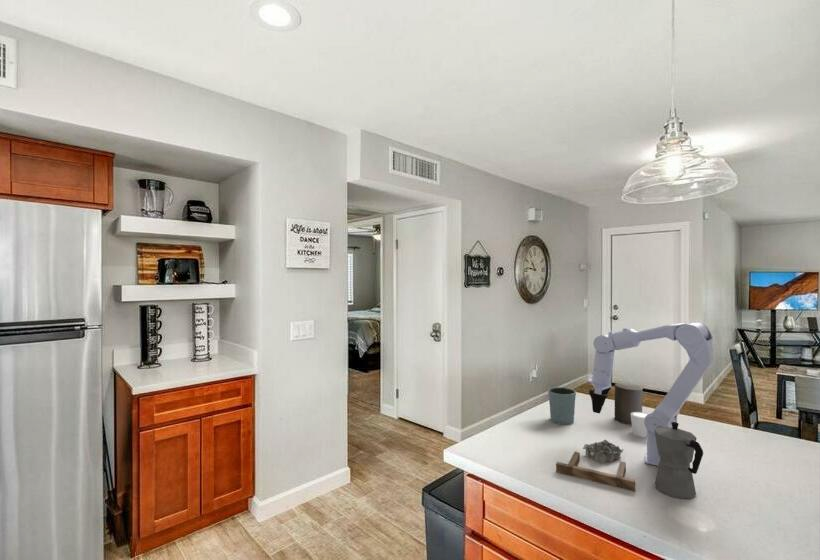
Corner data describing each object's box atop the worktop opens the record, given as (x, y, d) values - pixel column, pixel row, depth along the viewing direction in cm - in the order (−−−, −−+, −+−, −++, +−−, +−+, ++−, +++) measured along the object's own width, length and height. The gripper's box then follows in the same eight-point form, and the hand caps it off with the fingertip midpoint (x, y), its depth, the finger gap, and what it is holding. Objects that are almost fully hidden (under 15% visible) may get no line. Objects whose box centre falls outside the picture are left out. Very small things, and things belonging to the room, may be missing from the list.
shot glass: (656, 438, 142) (656, 418, 142) (636, 437, 142) (636, 418, 142) (645, 430, 149) (645, 411, 149) (626, 430, 149) (626, 411, 149)
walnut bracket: (637, 473, 117) (637, 464, 117) (635, 491, 107) (635, 482, 107) (564, 457, 127) (564, 449, 127) (556, 472, 117) (555, 463, 117)
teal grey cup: (578, 419, 161) (578, 389, 161) (573, 427, 152) (573, 395, 152) (551, 415, 166) (551, 385, 166) (545, 422, 158) (545, 391, 157)
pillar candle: (611, 421, 158) (612, 383, 158) (616, 414, 166) (617, 378, 166) (640, 427, 153) (640, 387, 152) (644, 419, 160) (644, 381, 160)
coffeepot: (641, 478, 114) (641, 414, 113) (672, 476, 115) (672, 413, 114) (683, 510, 98) (683, 435, 98) (719, 507, 99) (719, 434, 99)
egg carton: (599, 465, 122) (599, 452, 122) (580, 455, 129) (580, 442, 129) (625, 459, 126) (625, 446, 126) (605, 449, 133) (605, 437, 133)
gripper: (593, 362, 145) (588, 399, 146) (586, 372, 133) (581, 412, 134) (615, 367, 141) (610, 404, 142) (610, 377, 129) (605, 418, 130)
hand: (598, 408), depth 138 cm, fingers open, 7 cm apart
